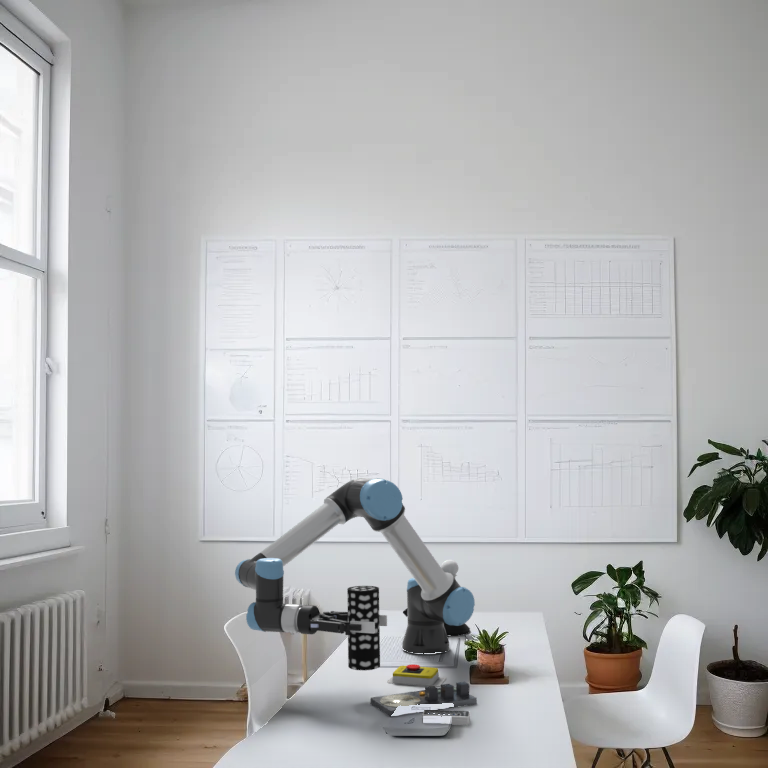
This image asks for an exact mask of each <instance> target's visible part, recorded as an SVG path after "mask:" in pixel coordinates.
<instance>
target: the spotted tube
mask: <svg viewBox="0 0 768 768" xmlns="http://www.w3.org/2000/svg"><path fill="white" fill-rule="evenodd" d="M347 612H348V622H349V624H350V621H365V622H375V633H374V634H373V633H358V632H350V630H349V635H347V656H348V657H347V662H348V663H347V665H348V669H351V670H353V671H373V670H377V669H379V668H381V636H380V635H381V633H380V632H381V629H380V627H381V626H380V620H379V615H380V587H379V586H374V585H355V586H350V587H347Z"/></svg>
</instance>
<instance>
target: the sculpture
mask: <svg viewBox="0 0 768 768" xmlns="http://www.w3.org/2000/svg"><path fill="white" fill-rule="evenodd" d="M440 567H441V568H442V570H443V571H444V573H451V574H452V575H453V577H454V578H455V579H456V577H457V576H458V575H457V573H458V571H459V565H458V563H457V562H456V561H455V560H453V559H446V560H445V561H443V562H442V563H441V565H440ZM402 614H404V616H405V617H406V618H408V612H407V608H406V609H404V610H403V611H402ZM444 628H445V631H446V634H447V635H451V636H450V637H458V635H460V636H464V635H463V634H465V635H468V634H470V631H471V628H470V626H468V624H466V623H465V624H463V625H460V626H454V625H448V624H446V623H444Z"/></svg>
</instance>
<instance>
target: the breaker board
mask: <svg viewBox="0 0 768 768" xmlns="http://www.w3.org/2000/svg"><path fill="white" fill-rule="evenodd" d="M477 702H478V699H477V697H475V696H473V695H471V694H470V684H469V683H468V682H466V681H460V682H459V681H457V682H455V686H454V685H453V684H451V683H446V684H445V683H442V685H441V686H440V687H435V686H424V689H422V690H415V691H409V692H408V691H407V692H401V693H395V694H387V695H379V696H372V697H370V705H372V706H373V707H374V708H376V709H378V710H379V711H381V712H382V713H383V714H385V715H386V716H387V717H389V718H392V717H391V715H392V714H393V713H394V711H395V710H396V708H397V707H398V706H400V705H401V706H409V705H417V704H418V705H420V704H442V703H453V704H454V708H459V707H458V706H461V707H465V706H464V705H468V706H473V705H477V704H478V703H477Z"/></svg>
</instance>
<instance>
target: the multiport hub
mask: <svg viewBox="0 0 768 768" xmlns="http://www.w3.org/2000/svg"><path fill="white" fill-rule="evenodd" d="M428 713H429V714H428ZM433 713H435V714H433ZM438 714H440V715H438ZM443 714H445V715H443ZM448 714H450V715H448ZM422 715H423V716H441V717H442V716H452V725H451V726H470V724H471V711H469V710H448V709H441V710H424V712H422ZM423 716H422V717H423Z"/></svg>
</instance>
